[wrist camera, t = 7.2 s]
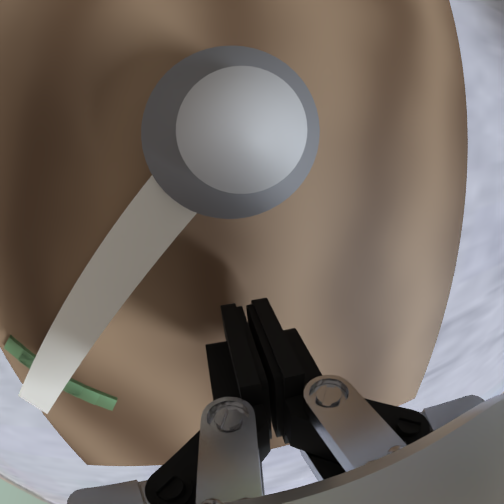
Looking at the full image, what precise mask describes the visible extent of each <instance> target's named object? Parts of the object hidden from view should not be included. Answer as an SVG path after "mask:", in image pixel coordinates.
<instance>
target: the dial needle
mask: <svg viewBox="0 0 504 504" xmlns="http://www.w3.org/2000/svg"><path fill="white" fill-rule="evenodd" d="M319 136H320V126H319V117H318V112H317V108H316V105H315V102H314V99H313V97H312V95H311V93H310V91H309V89H308V88H307V86H306V85H305V83H304V82H303V80H302V79H301V78H300V77H299V76H298V74H297V73H296V72H295V71H294V70H293V69H292V68H290V67H289V66H288V65H287V64H286V63H284V62H283V61H281V60H280V59H278V58H277V57H275V56H273V55H271V54H269V53H266V52H264V51H261V50H258V49H255V48H250V47H245V46H232V45H231V46H218V47H213V48H208V49H205V50H202V51H199V52H196V53H194V54H192V55H190V56H188V57H186V58H184V59H183V60H181V61H180V62H178V63H177V64H175V65H174V66H173V67H172V68H171V69H170V70H169V71H167V72H166V73H165V75H164V76H163V77H162V78H161V79H160V80H159V82H158V83H157V85H156V86H155V88H154V89H153V91H152V92H151V95H150V97H149V99H148V101H147V103H146V107H145V110H144V113H143V118H142V125H141V141H142V149H143V153H144V157H145V160H146V163H147V165H148V167H149V170H150V172H151V174H152V176H151V177H150V178H149V180H148V181H147V182H146V183H145V185H144V186H143V187H142V188H141V190H140V191H139V192H138V194H137V195H136V196H135V197H134V199H133V200H132V201H131V203H130V204H129V205H128V207H127V208H126V209H125V211H124V212H123V213H122V215H121V216H120V217H119V219H118V220H117V222H116V223H115V224H114V226H113V227H112V229H111V230H110V231H109V233H108V234H107V236H106V237H105V239H104V240H103V242H102V243H101V245H100V246H99V247H98V249H97V250H96V252H95V253H94V255H93V257H92V258H91V260H90V261H89V263H88V264H87V266H86V267H85V269H84V271H83V272H82V274H81V275H80V277H79V279H78V280H77V282H76V283H75V285H74V287H73V288H72V290H71V292H70V293H69V295H68V297H67V299H66V300H65V302H64V304H63V305H62V307H61V309H60V311H59V313H58V314H57V316H56V318H55V320H54V322H53V324H52V325H51V327H50V329H49V331H48V333H47V335H46V337H45V339H44V341H43V343H42V345H41V347H40V349H39V351H38V353H37V355H36V357H35V359H34V361H33V363H32V365H31V367H30V370H29V372H28V374H27V376H26V379H25V381H24V383H23V385H22V388H21V390H20V393H19V395H18V396H19V397H21V398H22V399H24V400H25V401H27V402H28V403H30V404H31V405H33V406H35V407H36V408H38V409H40V410H41V411H43V412H44V413H46V414H48V412H49V411H50V409H51V408H52V406H53V404H54V403H55V401H56V400H57V398H58V397H59V395H60V393H61V392H62V390H63V389H64V387H65V386H66V384H67V383H68V381H69V380H70V378H71V377H72V375H73V374H74V372H75V371H76V369H77V368H78V366H79V365H80V363H81V362H82V361H83V359H84V358H85V356H86V355H87V353H88V352H89V350H90V349H91V348H92V346H93V345H94V343H95V342H96V341H97V339H98V338H99V336H100V335H101V334H102V332H103V331H104V329H105V328H106V327H107V325H108V324H109V323H110V321H111V320H112V319H113V317H114V316H115V314H116V313H117V312H118V310H119V309H120V308H121V306H122V305H123V304H124V302H125V301H126V300H127V299H128V297H129V296H130V295H131V293H132V292H133V291H134V289H135V288H136V287H137V286H138V284H139V283H140V282H141V280H142V279H143V278H144V277H145V275H146V274H147V273H148V272H149V270H150V269H151V268H152V267H153V265H154V264H155V263H156V262H157V260H158V259H159V258H160V257H161V255H162V254H163V253H164V252H165V250H166V249H167V248H168V247H169V246H170V244H171V243H172V242H173V241H174V240H175V238H176V237H177V236H178V235H179V234H180V232H181V231H182V230H183V229H184V228H185V226H186V225H187V224H188V223H189V222H190V221H191V219H192V218H193V217H194V216H195V215H196V214H197V213H198V214H201V215H204V216H209V217H213V218H221V219H239V218H246V217H251V216H254V215H258V214H261V213H263V212H266V211H268V210H270V209H272V208H274V207H276V206H277V205H279V204H281V203H282V202H283V201H285V200H286V199H287V198H289V197H290V196H291V195H292V194H293V193H294V192H295V191H296V190H297V189H298V188H299V186H300V185H301V184H302V183H303V181H304V180H305V178H306V177H307V175H308V174H309V172H310V170H311V168H312V165H313V163H314V161H315V157H316V154H317V151H318V145H319Z"/></svg>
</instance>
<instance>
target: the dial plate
mask: <svg viewBox="0 0 504 504" xmlns="http://www.w3.org/2000/svg"><path fill="white" fill-rule="evenodd" d="M231 45H232V46H245V47H250V48H255V49H258V50H261V51H264V52H266V53H269V54H271V55H273V56H275V57H277V58H278V59H280V60H281V61H283V62H284V63H286V64H287V65H288V66H289V67H290V68H292V69H293V70H294V71H295V72H296V73H297V74H298V76H299V77H300V78H301V79H302V80H303V82H304V83H305V85H306V86H307V88H308V89H309V91H310V93H311V95H312V97H313V99H314V102H315V105H316V108H317V112H318V117H319V126H320V136H319V145H318V151H317V154H316V157H315V161H314V163H313V165H312V168H311V170H310V172H309V174H308V175H307V177H306V178H305V180H304V181H303V183H302V184H301V185H300V186H299V188H298V189H297V190H296V191H295V192H294V193H293V194H292V195H291V196H290V197H289V198H287V199H286V200H285V201H283V202H282V203H281V204H279V205H277V206H276V207H274V208H272V209H270V210H268V211H266V212H263V213H261V214H258V215H254V216H251V217H246V218H239V219H221V218H213V217H209V216H204V215H201V214H198V213H197V214H196V215H195V216H194V217H193V218H192V219H191V221H190V222H189V223H188V224H187V225H186V226H185V228H184V229H183V230H182V231H181V232H180V234H179V235H178V236H177V237H176V238H175V240H174V241H173V242H172V243H171V244H170V246H169V247H168V248H167V249H166V250H165V252H164V253H163V254H162V255H161V257H160V258H159V259H158V260H157V262H156V263H155V264H154V265H153V267H152V268H151V269H150V270H149V272H148V273H147V274H146V275H145V277H144V278H143V279H142V280H141V282H140V283H139V284H138V286H137V287H136V288H135V289H134V291H133V292H132V293H131V295H130V296H129V297H128V299H127V300H126V301H125V302H124V304H123V305H122V306H121V308H120V309H119V310H118V312H117V313H116V314H115V316H114V317H113V319H112V320H111V321H110V323H109V324H108V325H107V327H106V328H105V329H104V331H103V332H102V334H101V335H100V336H99V338H98V339H97V341H96V342H95V343H94V345H93V346H92V348H91V349H90V350H89V352H88V353H87V355H86V356H85V358H84V359H83V361H82V362H81V363H80V365H79V366H78V368H77V369H76V371H75V372H74V374H73V375H72V377H71V378H70V380H69V381H68V383H67V384H66V386H65V387H64V389H63V390H62V392H61V393H60V395H59V397H58V398H57V400H56V401H55V403H54V404H53V406H52V408H51V409H50V411H49V412H48V414H46V413H44V412H43V411H42V413H43V414H44V415H45V417H46V418H47V419H48V420H49V422H50V423H51V424H52V425H53V427H54V428H55V429H56V430H57V432H58V433H59V434H60V435H61V436H62V438H63V439H64V440H65V441H66V442H67V443H68V445H69V446H70V447H71V448H72V449H73V450H74V451H75V452H76V453H77V455H78V456H79V457H80V458H81V459H82V460H83V461H84V462H85V463H86V464H87V465H103V466H148V465H163V464H165V463H166V462H167V461H168V460H169V459H170V458H171V457H172V456H173V455H174V454H175V453H176V452H177V451H178V450H180V449H181V448H182V447H183V446H184V445H185V444H186V443H187V442H188V441H189V440H190V439H191V438H192V437H193V436H194V435H195V434H196V433H197V432H198V431H199V430H200V424H201V415H202V412H203V410H204V409H205V407H206V406H207V405H208V404H209V403H211V402H212V401H213V396H212V389H211V382H210V376H209V369H208V361H207V354H206V346H205V345H206V344H212V343H218V342H224V341H226V339H225V333H224V327H223V321H222V314H221V308H220V305H226V304H232V303H235V304H236V307H238V306H242V307H243V310H244V313H245V316H246V319H247V310H246V305H250V304H251V300H255V299H261V298H267V299H268V301H269V303H270V305H271V307H272V309H273V311H274V313H275V315H276V317H277V319H278V321H279V323H280V325H281V327H282V329H283V330H287V329H291V328H295V329H296V330H297V331H298V333H299V335H300V336H301V338H302V340H303V342H304V343H305V345H306V347H307V349H308V350H309V352H310V354H311V356H312V358H313V359H314V361H315V363H316V365H317V366H318V368H319V370H320V372H321V374H322V375H335V376H340V377H342V378H344V379H346V380H347V381H348V382H350V383H351V385H352V386H353V387H354V388H355V389H356V390H357V391H358V392H359V393H360V394H361V396H362V397H363V398H366V399H369V400H373V401H377V402H381V403H385V404H389V405H393V406H399V405H401V404H404V403H406V402H408V401H410V400H412V399H414V398H415V397H416V394H417V392H418V389H419V387H420V384H421V382H422V379H423V377H424V374H425V372H426V369H427V366H428V363H429V361H430V358H431V355H432V352H433V349H434V346H435V343H436V340H437V337H438V334H439V330H440V327H441V324H442V320H443V316H444V313H445V309H446V305H447V301H448V297H449V293H450V289H451V285H452V280H453V276H454V271H455V266H456V261H457V255H458V249H459V243H460V237H461V230H462V222H463V214H464V205H465V193H466V179H467V149H468V138H467V109H466V95H465V84H464V75H463V67H462V60H461V54H460V48H459V42H458V37H457V32H456V27H455V22H454V18H453V14H452V10H451V6H450V2H449V0H0V347H1V349H2V351H3V353H4V355H5V356H6V358H7V360H8V361H9V363H10V365H11V367H12V368H13V370H14V371H15V373H16V375H17V376H18V378H19V379H20V381H21V383H22V384H23V383H24V381H25V379H26V376H27V374H28V372H29V370H30V367H31V365H32V363H33V361H34V359H35V357H36V355H37V353H38V351H39V349H40V347H41V345H42V343H43V341H44V339H45V337H46V335H47V333H48V331H49V329H50V327H51V325H52V324H53V322H54V320H55V318H56V316H57V314H58V313H59V311H60V309H61V307H62V305H63V304H64V302H65V300H66V299H67V297H68V295H69V293H70V292H71V290H72V288H73V287H74V285H75V283H76V282H77V280H78V279H79V277H80V275H81V274H82V272H83V271H84V269H85V267H86V266H87V264H88V263H89V261H90V260H91V258H92V257H93V255H94V253H95V252H96V250H97V249H98V247H99V246H100V245H101V243H102V242H103V240H104V239H105V237H106V236H107V234H108V233H109V231H110V230H111V229H112V227H113V226H114V224H115V223H116V222H117V220H118V219H119V217H120V216H121V215H122V213H123V212H124V211H125V209H126V208H127V207H128V205H129V204H130V203H131V201H132V200H133V199H134V197H135V196H136V195H137V194H138V192H139V191H140V190H141V188H142V187H143V186H144V185H145V183H146V182H147V181H148V180H149V178H150V177H151V176H152V174H151V172H150V170H149V167H148V165H147V163H146V160H145V157H144V153H143V149H142V141H141V125H142V118H143V113H144V110H145V107H146V103H147V101H148V99H149V97H150V95H151V92H152V91H153V89H154V88H155V86H156V85H157V83H158V82H159V80H160V79H161V78H162V77H163V76H164V75H165V73H166V72H167V71H169V70H170V69H171V68H172V67H173V66H174V65H175V64H177V63H178V62H180V61H181V60H183V59H184V58H186V57H188V56H190V55H192V54H194V53H196V52H199V51H202V50H205V49H208V48H213V47H218V46H231ZM247 322H248V319H247ZM271 428H272V439H270V449H273V448H277V447H281V446H285V445H289V444H290V443H288V444H285V443H284V440H283V437H282V436H281V437H276V435H275V432H274V429H273V426H272V423H271Z"/></svg>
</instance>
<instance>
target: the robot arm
mask: <svg viewBox="0 0 504 504" xmlns="http://www.w3.org/2000/svg"><path fill="white" fill-rule="evenodd" d="M220 308H221V314H222V321H223V327H224V333H225V339H226V341H224V342H218V343H212V344H206V345H205V346H206V354H207V361H208V369H209V376H210V382H211V389H212V396H213V401H212V402H211V403H209V404H208V405H207V406H206V407H205V409H204V410H203V412H202V415H201V424H200V430H199V431H198V432H197V433H196V434H195V435H194V436H193V437H192V438H191V439H190V440H189V441H188V442H187V443H186V444H185V445H184V446H183V447H182V448H181V449H180V450H178V451H177V452H176V453H175V454H174V455H173V456H172V457H171V458H170V459H169V460H168V461H167V462H166V463H165V464H163V465H162V466H161V467H160V468H159V469H158V470H157V471H156V472H155V473H153V474H152V475H151V477H150V478H149V479H148V480H146V481H141V482H138V481H137V480H133V481H128V482H123V483H117V484H112V485H106V486H99V487H92V488H84V489H79V490H76V491H74V492H73V493H72V494H71V495H70V496H69V498H68V500H67V504H504V393H503V394H500V395H497V396H495V397H492V398H490V399H488V400H486V401H484V400H483V399H482V398H480V397H479V396H475V395H469V396H465V397H462V398H459V399H455V400H452V401H449V402H446V403H442V404H439V405H435V406H432V407H428V408H424V410H423V412H420V413H419V412H417V411H414V410H411V409H406V408H402V407H398V406H393V405H389V404H385V403H381V402H377V401H373V400H369V399H366V398H363V397H362V396H361V394H360V393H359V392H358V391H357V390H356V389H355V388H354V387H353V386H352V385H351V383H350V382H348V381H347V380H346V379H344V378H342V377H340V376H335V375H322V374H321V372H320V370H319V368H318V366H317V365H316V363H315V361H314V359H313V358H312V356H311V354H310V352H309V350H308V349H307V347H306V345H305V343H304V342H303V340H302V338H301V336H300V335H299V333H298V331H297V330H296V329H295V328H291V329H287V330H283V329H282V327H281V325H280V323H279V321H278V319H277V317H276V315H275V313H274V311H273V309H272V307H271V305H270V303H269V301H268V299H267V298H261V299H255V300H251V304H250V305H246V310H247V319H248V322H247V319H246V316H245V313H244V310H243V307H242V306H238V307H236V304H235V303H232V304H226V305H220ZM271 423H272V426H273V429H274V432H275V435H276V437H281V436H282V437H283V440H284V443H285V444H288V443H290V446H292V447H295V448H297V449H300V452H301V455H302V457H303V458H304V460H305V461H306V463H307V464H308V466H309V468H310V469H311V471H312V472H313V474H314V475H315V477H316V478H317V480H318V482H315V483H312V484H308V485H305V486H301V487H298V488H294V489H290V490H286V491H282V492H278V493H274V494H269V495H265V492H264V482H263V472H262V461H263V460H264V458H265V457H266V456H267V455H268V453H269V452H270V451H271V450H270V439H272V428H271Z"/></svg>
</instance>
